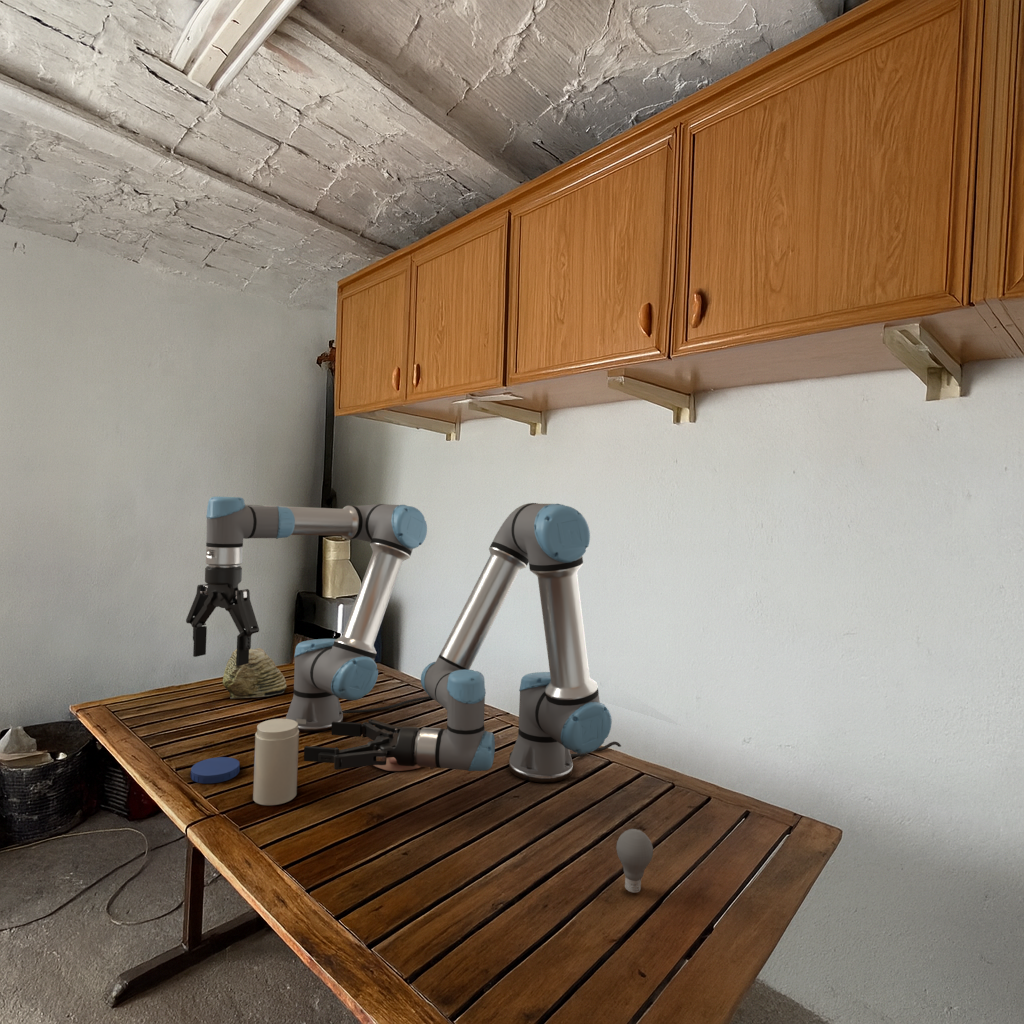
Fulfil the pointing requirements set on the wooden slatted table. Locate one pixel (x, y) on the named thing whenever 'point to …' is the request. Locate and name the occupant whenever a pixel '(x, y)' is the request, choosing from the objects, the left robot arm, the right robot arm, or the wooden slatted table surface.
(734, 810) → the wooden slatted table surface
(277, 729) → the jar
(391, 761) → the anatomical model
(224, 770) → the lid
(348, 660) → the left robot arm
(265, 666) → the fossil
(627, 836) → the light bulb
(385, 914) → the wooden slatted table surface
